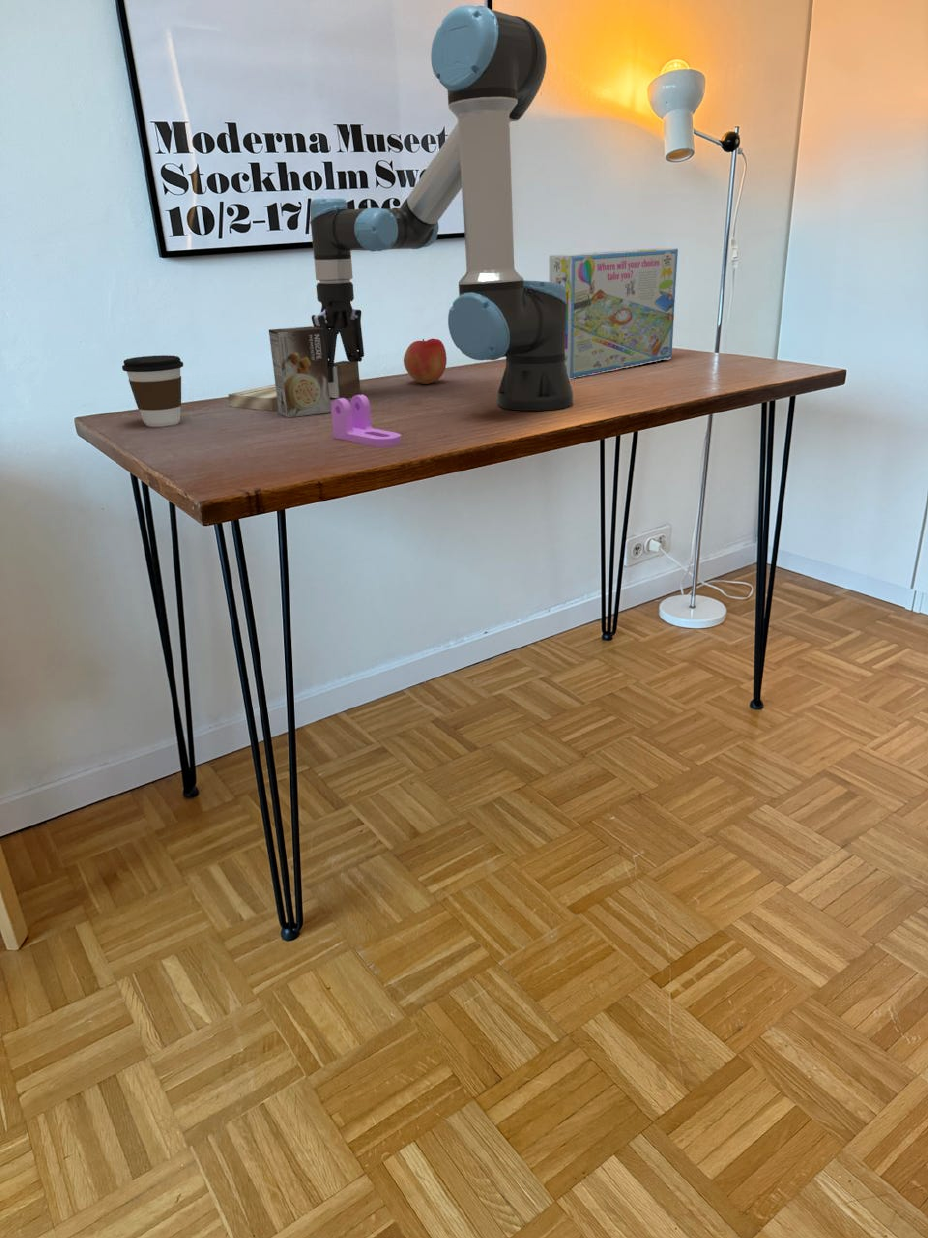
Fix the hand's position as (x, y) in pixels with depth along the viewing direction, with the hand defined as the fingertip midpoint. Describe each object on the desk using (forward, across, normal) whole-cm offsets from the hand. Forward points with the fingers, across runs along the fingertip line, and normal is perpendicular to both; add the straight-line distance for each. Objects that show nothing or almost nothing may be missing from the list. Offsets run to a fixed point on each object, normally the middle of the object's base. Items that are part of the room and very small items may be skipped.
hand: (343, 394), depth 188 cm
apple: (+1, -22, +7) cm, 23 cm away
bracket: (0, +32, +33) cm, 46 cm away
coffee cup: (0, +39, -13) cm, 41 cm away
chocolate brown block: (0, 0, -5) cm, 5 cm away
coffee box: (0, +19, +5) cm, 19 cm away
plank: (0, +7, -8) cm, 11 cm away
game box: (+1, -60, +38) cm, 70 cm away
